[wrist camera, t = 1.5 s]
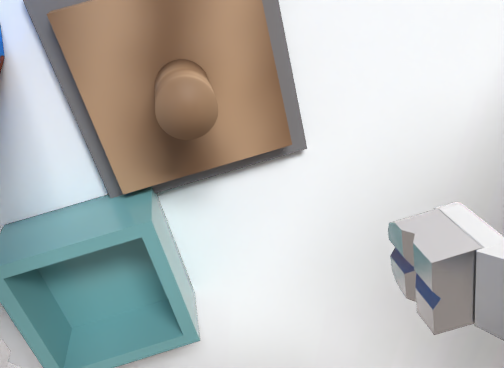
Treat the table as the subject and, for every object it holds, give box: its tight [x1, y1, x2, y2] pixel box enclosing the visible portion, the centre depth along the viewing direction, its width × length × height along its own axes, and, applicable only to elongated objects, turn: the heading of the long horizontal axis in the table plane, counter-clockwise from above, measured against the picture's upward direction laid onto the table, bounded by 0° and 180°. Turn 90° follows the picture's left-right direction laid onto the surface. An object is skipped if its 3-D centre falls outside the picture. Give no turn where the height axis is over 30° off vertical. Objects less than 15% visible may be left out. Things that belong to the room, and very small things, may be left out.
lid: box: [47, 0, 292, 194], centre depth 24 cm, size 10×10×5 cm
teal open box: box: [0, 187, 200, 368], centre depth 29 cm, size 9×9×4 cm
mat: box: [23, 0, 307, 198], centre depth 26 cm, size 12×12×1 cm
